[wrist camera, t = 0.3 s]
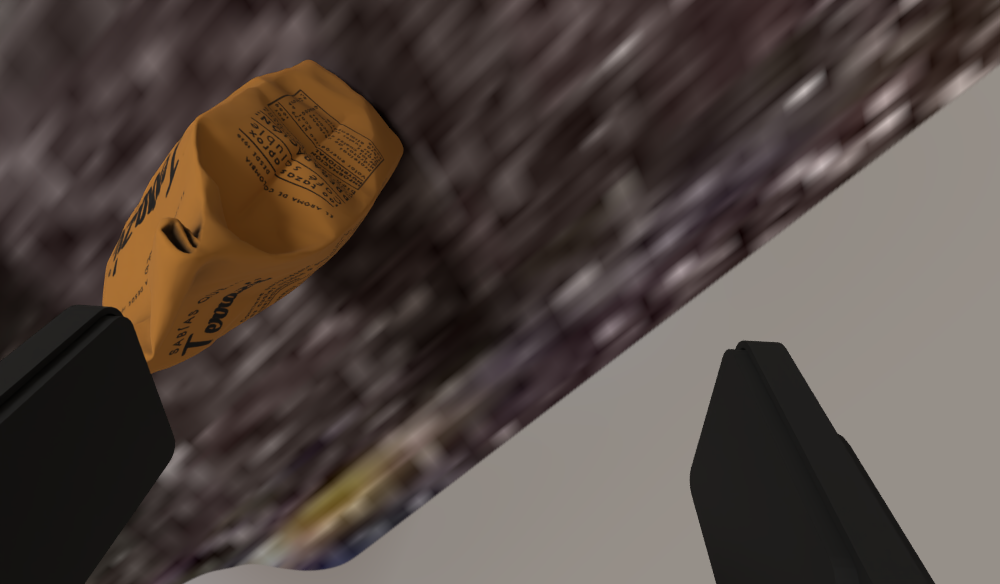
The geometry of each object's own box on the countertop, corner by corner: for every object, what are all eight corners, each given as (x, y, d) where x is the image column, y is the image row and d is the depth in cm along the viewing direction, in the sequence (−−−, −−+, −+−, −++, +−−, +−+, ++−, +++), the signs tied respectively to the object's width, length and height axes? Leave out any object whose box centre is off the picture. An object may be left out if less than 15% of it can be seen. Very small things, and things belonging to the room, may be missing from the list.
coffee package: (196, 155, 40) (-106, 349, 21) (315, 31, 35) (65, 137, 17) (306, 257, 44) (132, 499, 25) (427, 156, 39) (325, 359, 20)
